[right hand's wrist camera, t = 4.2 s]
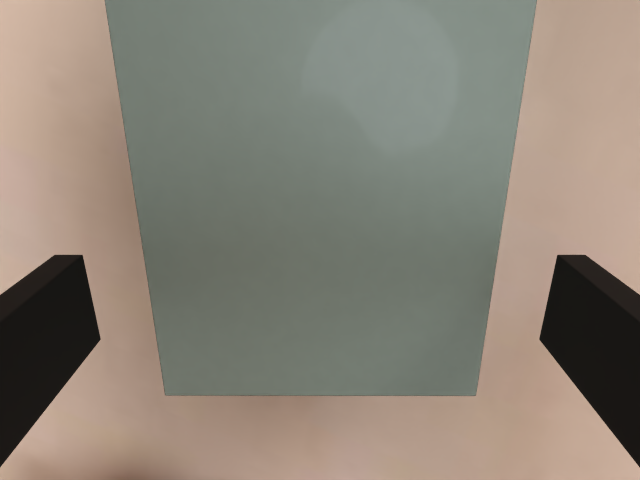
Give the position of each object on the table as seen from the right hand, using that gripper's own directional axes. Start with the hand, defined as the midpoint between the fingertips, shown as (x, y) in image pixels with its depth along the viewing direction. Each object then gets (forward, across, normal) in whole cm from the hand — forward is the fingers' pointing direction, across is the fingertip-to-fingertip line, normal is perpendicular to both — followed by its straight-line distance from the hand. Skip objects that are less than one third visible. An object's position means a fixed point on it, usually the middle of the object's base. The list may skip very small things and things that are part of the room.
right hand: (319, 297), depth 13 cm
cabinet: (+13, 0, -5) cm, 14 cm away
